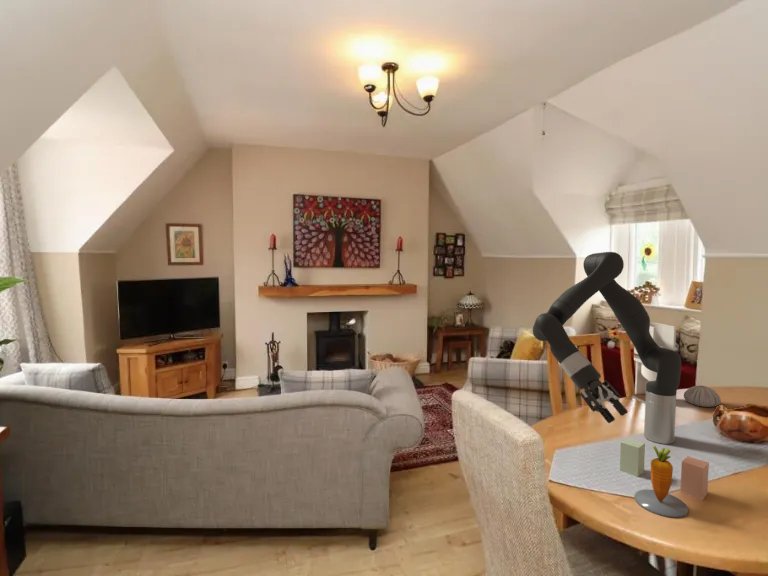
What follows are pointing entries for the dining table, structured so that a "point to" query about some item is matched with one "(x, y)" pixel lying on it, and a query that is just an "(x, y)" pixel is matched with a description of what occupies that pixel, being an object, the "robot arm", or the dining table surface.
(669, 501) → the slate coaster
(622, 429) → the dining table surface
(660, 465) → the carrot
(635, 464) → the sage block
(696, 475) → the terracotta block
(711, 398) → the sea urchin shell
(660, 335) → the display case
